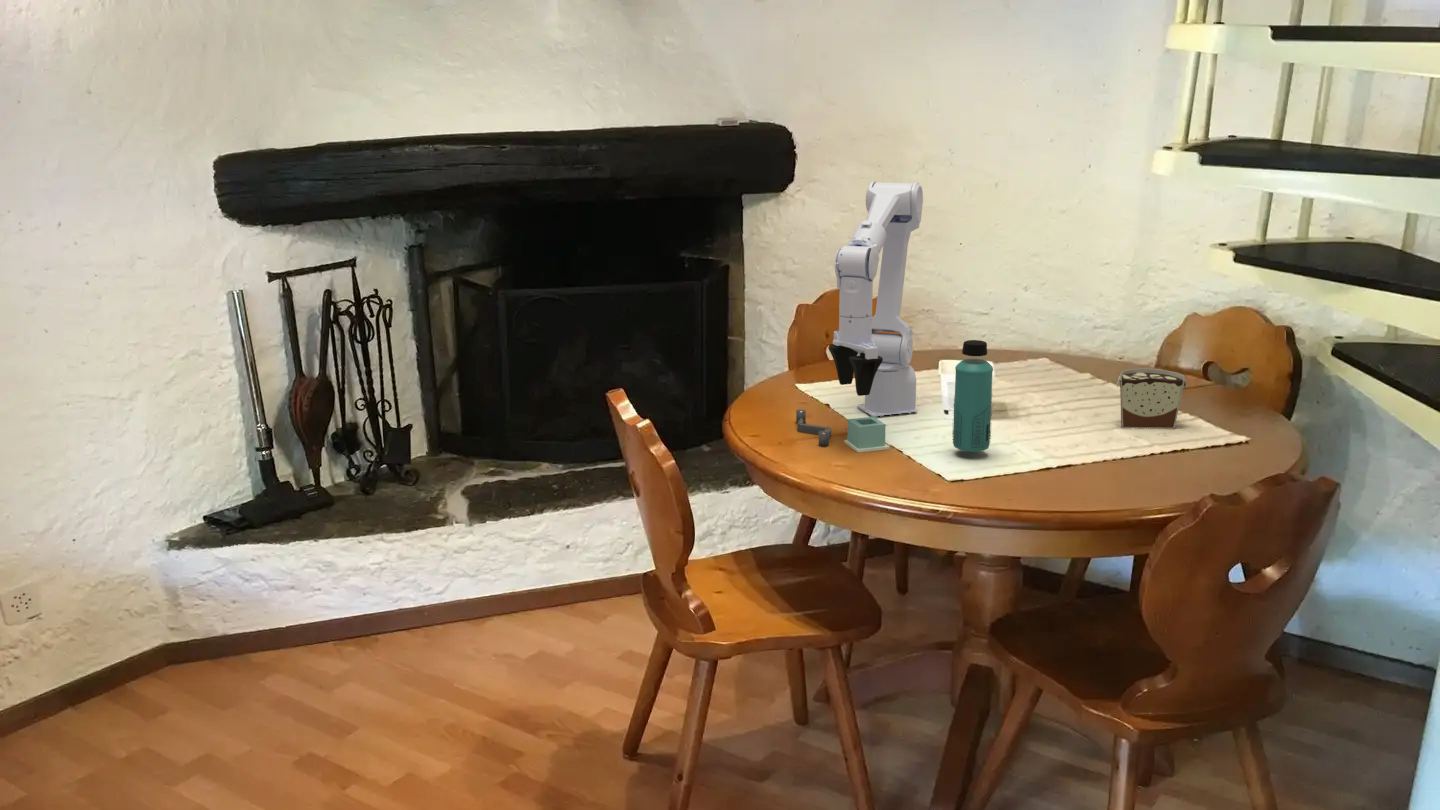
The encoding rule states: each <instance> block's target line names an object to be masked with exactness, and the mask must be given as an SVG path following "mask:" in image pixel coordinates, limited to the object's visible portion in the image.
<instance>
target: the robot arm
mask: <svg viewBox="0 0 1440 810" xmlns="http://www.w3.org/2000/svg"><path fill="white" fill-rule="evenodd" d="M923 195H924V191H923V187H922V186H921V184H920V183H919V182H916V181H915V182H880V181H879V182H877V181H875V180H874V181H871V182H870V183H869V184H868V186H867V188H866V192H865V209H866V212H867V215H866V219H865V220H863V221H860V222H859V223H858V224H857V225H856V227H855V229H854V231H853V233H852V235H851V237H850V238H849V241H848V243H847V245H843V246H842V248H838V250H837V252H836V254H835V258H834V259H835V261H834V262H835V263H834V270H835V276H836V287H837V289H838V290H839V301H838V302H839V304H838V306H839V307H838V309H839V310H838V311H839V312H838V313H839V314H838V315H839V318H838V320H839V321H838V330H834V331H833V340H832V344H833V345H829V346H828V347H827V349H828V351H829V352H830V354H831V357H832V359H833V362H834V365H835V370H836V373H837V379H838V383H839V385H841V386H842V385H851V384H852V383H853V379H854V381H855V383H854V384H855V392H856V395H857V396H858V397H861V396H864V403H859V404H858V403H857V404H856V407H857V408H858V409H860V410H861V411H862V412H865V413H866V414H867V413H868V414H867V415H869V416H870V415H871V416H870V417H875V418H877V417H876V416H880V417H885V416H884V415H890V416H892V415H891V414H899V415H902V414H901V413H909V414H911V413H910V412H916V411H917V412H918V410H917V409H916V403H917V402H916V400H917V399H916V398H917V375H916V372H915V370H914V368H913V366H911V365H910V363H911V361H912V357H913V349H914V347H913V345H914V344H913V336H914V334H913V329H912V327H911V326H910V325H909V323H907V322H906V321H905V320H904V319H903V318H902V317H901V311H902V303H903V302H902V300H903V291H904V283H905V274H906V265H907V259H908V258H907V256H908V248H909V242H910V237H911V233H912V232H913V231H916V230H918V229H919V228H920V224H921V221H922V215H923V214H922V212H923V204H924V203H923V202H924V196H923ZM881 251H882V255H881V262H880V253H881ZM879 262H880V271H879V280H878V291H877V297H876V299H877V300H876V305H875V315H874V316H873V294H874V293H873V290H874V289H873V287H874V283H873V282H874V279H875V278H876V277H877V272H878V266H879ZM889 332H890V333H889ZM917 412H916V413H917Z"/></svg>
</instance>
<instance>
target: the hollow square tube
mask: <svg viewBox="0 0 1440 810" xmlns="http://www.w3.org/2000/svg"><path fill="white" fill-rule="evenodd" d="M846 440H847V441H849V442H850V443H851V444H853V445H854V446H855V447H857V448H858V449H863V448H872V447H881V446H885V444H886V423H884V422H883V421H882V420H879V419H878V417H872V416H867V417H858V418H857V417H855V418H848V419H847V439H846Z"/></svg>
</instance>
